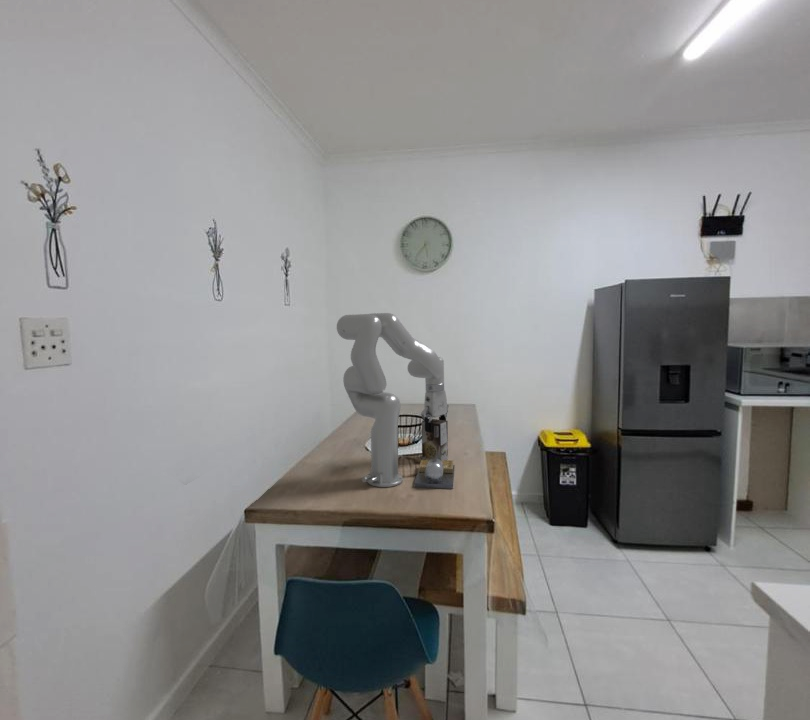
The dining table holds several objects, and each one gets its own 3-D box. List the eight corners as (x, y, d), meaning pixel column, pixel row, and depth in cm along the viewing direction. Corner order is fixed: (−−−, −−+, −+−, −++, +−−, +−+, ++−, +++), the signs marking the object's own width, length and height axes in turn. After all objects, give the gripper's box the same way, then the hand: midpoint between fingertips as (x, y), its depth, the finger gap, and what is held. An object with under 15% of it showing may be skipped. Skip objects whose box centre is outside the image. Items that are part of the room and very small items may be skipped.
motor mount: (452, 488, 142) (452, 467, 142) (414, 487, 144) (414, 465, 143) (454, 468, 162) (454, 449, 161) (420, 467, 164) (420, 448, 163)
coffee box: (448, 459, 173) (448, 420, 172) (440, 463, 168) (440, 423, 166) (429, 455, 178) (429, 417, 177) (421, 459, 173) (420, 421, 171)
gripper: (429, 392, 161) (430, 435, 163) (454, 385, 175) (455, 425, 176) (414, 390, 166) (415, 432, 168) (439, 383, 179) (440, 423, 181)
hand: (435, 429), depth 172 cm, fingers open, 9 cm apart
